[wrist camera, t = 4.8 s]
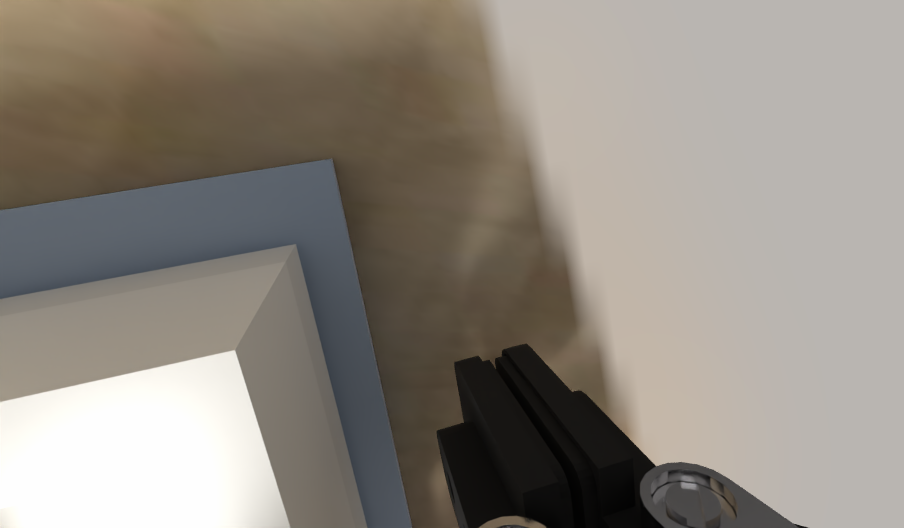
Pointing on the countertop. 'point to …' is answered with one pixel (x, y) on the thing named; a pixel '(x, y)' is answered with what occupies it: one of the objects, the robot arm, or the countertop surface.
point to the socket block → (172, 403)
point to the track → (221, 235)
